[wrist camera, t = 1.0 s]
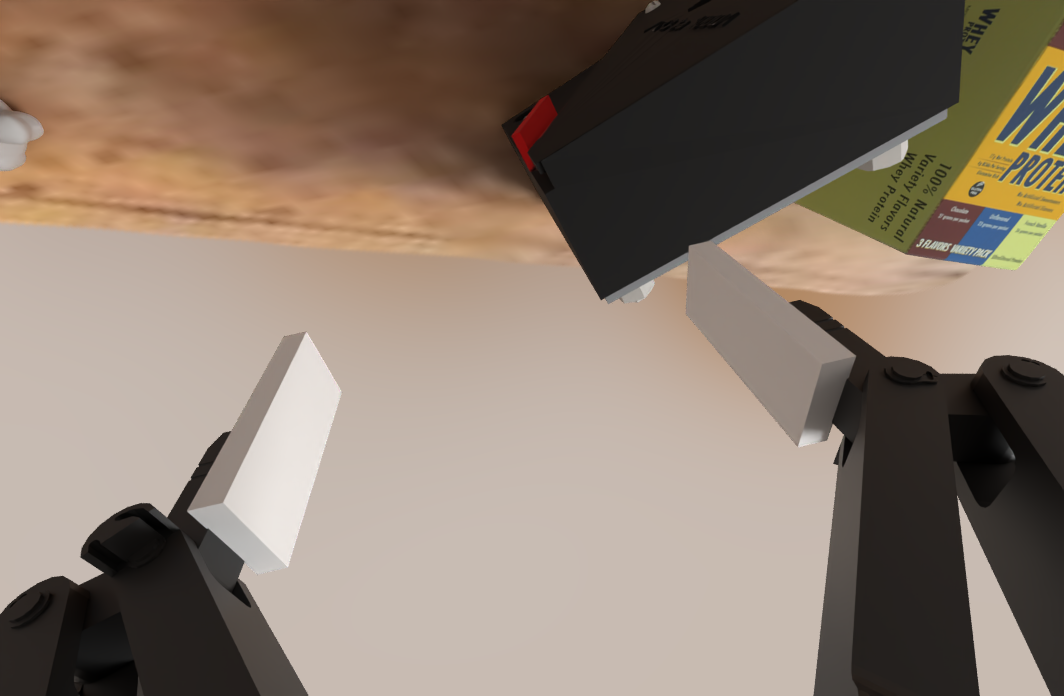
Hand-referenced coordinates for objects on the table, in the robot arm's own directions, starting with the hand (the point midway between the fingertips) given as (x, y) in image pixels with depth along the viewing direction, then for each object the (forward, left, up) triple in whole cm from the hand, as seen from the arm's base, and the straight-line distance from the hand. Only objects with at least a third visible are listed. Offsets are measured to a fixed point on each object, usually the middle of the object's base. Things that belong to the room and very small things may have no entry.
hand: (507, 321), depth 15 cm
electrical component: (-3, +12, -26) cm, 29 cm away
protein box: (+1, +34, -26) cm, 43 cm away
